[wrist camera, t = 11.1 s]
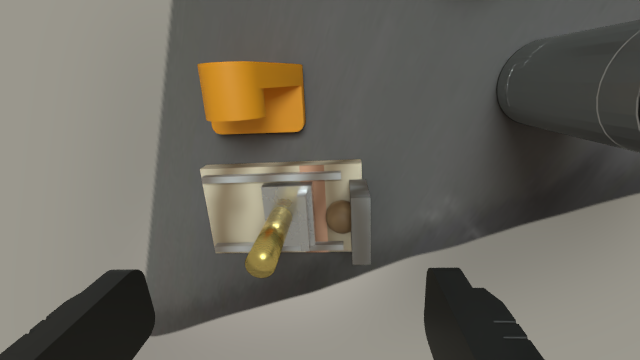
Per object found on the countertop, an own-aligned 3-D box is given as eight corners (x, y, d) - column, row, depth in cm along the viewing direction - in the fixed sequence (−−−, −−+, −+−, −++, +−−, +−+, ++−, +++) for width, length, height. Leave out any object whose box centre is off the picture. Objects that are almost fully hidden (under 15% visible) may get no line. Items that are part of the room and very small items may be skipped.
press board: (364, 159, 38) (370, 179, 30) (365, 243, 42) (370, 279, 34) (206, 164, 40) (174, 185, 32) (221, 245, 43) (195, 280, 36)
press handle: (312, 181, 37) (300, 224, 26) (316, 239, 39) (306, 301, 28) (264, 183, 37) (232, 226, 26) (270, 240, 40) (244, 300, 29)
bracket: (222, 130, 38) (171, 153, 27) (213, 69, 36) (153, 65, 24) (306, 127, 37) (291, 149, 26) (303, 65, 35) (285, 58, 24)
